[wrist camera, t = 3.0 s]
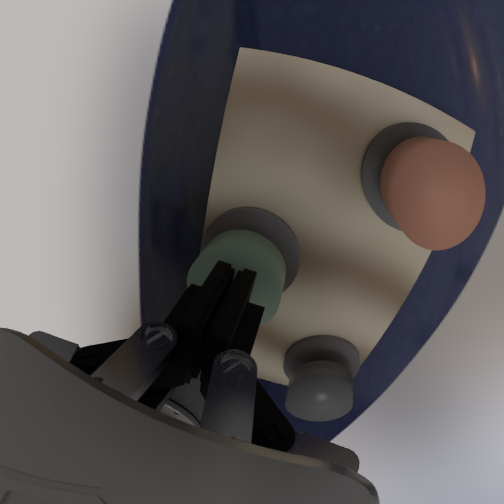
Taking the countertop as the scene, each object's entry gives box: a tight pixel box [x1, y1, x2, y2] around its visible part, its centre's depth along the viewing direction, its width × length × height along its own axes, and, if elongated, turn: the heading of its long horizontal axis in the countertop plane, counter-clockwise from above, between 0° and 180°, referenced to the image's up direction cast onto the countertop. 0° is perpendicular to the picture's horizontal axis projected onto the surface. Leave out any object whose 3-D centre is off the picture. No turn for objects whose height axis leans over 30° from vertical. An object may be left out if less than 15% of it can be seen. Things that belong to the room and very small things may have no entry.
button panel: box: [200, 47, 475, 386], centre depth 16 cm, size 22×13×3 cm, turn 168°
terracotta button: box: [380, 136, 485, 250], centre depth 9 cm, size 4×4×2 cm
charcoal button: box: [285, 360, 353, 421], centre depth 16 cm, size 4×4×2 cm
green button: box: [187, 230, 286, 327], centre depth 13 cm, size 4×4×2 cm
